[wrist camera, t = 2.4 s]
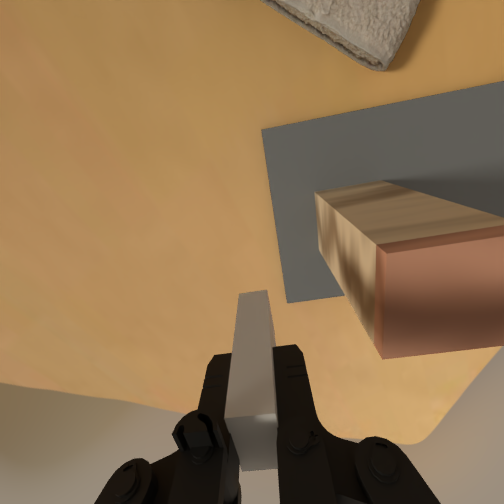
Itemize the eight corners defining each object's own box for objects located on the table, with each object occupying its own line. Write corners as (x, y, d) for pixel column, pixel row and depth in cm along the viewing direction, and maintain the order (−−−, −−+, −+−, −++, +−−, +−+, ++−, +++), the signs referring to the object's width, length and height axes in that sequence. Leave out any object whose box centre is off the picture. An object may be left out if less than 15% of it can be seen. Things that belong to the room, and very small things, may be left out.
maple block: (314, 191, 23) (386, 253, 10) (380, 180, 23) (544, 230, 10) (319, 250, 25) (382, 359, 13) (379, 240, 25) (508, 344, 12)
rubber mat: (261, 130, 22) (261, 129, 21) (576, 66, 19) (585, 64, 19) (286, 300, 29) (287, 303, 28) (519, 267, 27) (524, 270, 26)
